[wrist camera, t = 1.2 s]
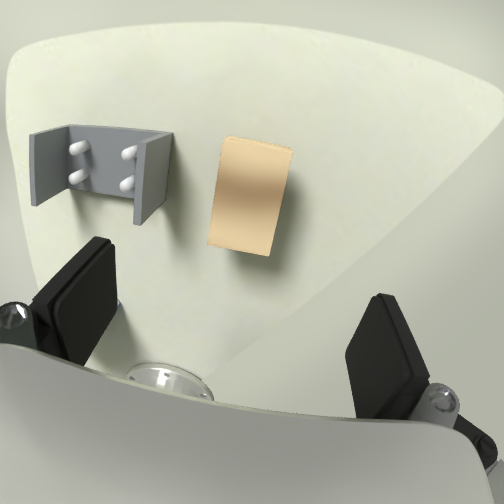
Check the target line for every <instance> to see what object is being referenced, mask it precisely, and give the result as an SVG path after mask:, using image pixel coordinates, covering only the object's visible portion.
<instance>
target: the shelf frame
mask: <svg viewBox="0 0 504 504" xmlns="http://www.w3.org/2000/svg"><path fill="white" fill-rule="evenodd" d="M172 137H173V133H171V132H162V131H153V130H143V129H133V128H121V127H107V126H91V125H65V126H61V127H57V128H53V129H49V130H45V131H41V132H38V133H34V134H30V135H29V170H30V193H31V206H38V205H39V204H41V203H43V202H44V201H46V200H48V199H50V198H51V197H53V196H55V195H56V194H58V193H60V192H62V191H63V190H65V189H67V188H68V189H75V190H82V191H88V192H95V193H101V194H108V195H114V196H120V197H127V198H133V199H134V216H133V224H134V225H139V226H141V225H142V224H143V223H144V222H145V221H146V220H147V219H148V218H149V217H150V215H151V214H152V213H153V212H154V211H155V210H156V209H157V208H158V207H159V206H160V205H161V204H162V203H163V202H164V201H165V200H166V191H167V180H168V171H169V161H170V153H171V145H172Z"/></svg>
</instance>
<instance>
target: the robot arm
mask: <svg viewBox="0 0 504 504" xmlns="http://www.w3.org/2000/svg"><path fill="white" fill-rule="evenodd" d="M32 300H33V302H32V303H31V304H30V305H29V306H28V305H26V304H24V303H22V302H9V303H6V304H4V305H2V306H0V504H504V462H503V461H502V460H501V459H500V460H499V461H497V460H496V459H497V455H498V451H497V447H496V444H495V442H494V441H493V439H492V438H491V437H489V436H488V435H487V434H486V433H484V432H483V431H481V430H480V429H478V428H477V427H476V426H474V425H473V424H472V423H470V422H469V421H467V420H466V419H465V418H463V417H462V416H461V415H459V414H458V412H459V408H460V403H459V399H458V397H457V395H456V394H455V392H454V391H453V390H452V389H450V388H449V387H448V386H446V385H444V384H440V383H432V384H430V383H429V381H428V378H429V377H430V375H429V372H428V370H427V368H426V365H425V363H424V360H423V358H422V356H421V353H420V351H419V349H418V347H417V344H416V342H415V340H414V337H413V335H412V333H411V331H410V329H409V326H408V324H407V322H406V320H405V318H404V316H403V314H402V311H401V309H400V307H399V305H398V303H397V301H396V299H395V297H394V296H392V295H387V294H381V293H379V294H377V295H376V296H373V297H372V298H371V300H370V302H369V304H368V307H367V309H366V311H365V313H364V315H363V317H362V319H361V321H360V323H359V325H358V327H357V329H356V331H355V334H354V335H353V337H352V339H351V341H350V343H349V345H348V347H347V349H346V353H345V359H346V364H347V369H348V374H349V379H350V385H351V390H352V395H353V400H354V406H355V412H356V418H342V417H327V416H315V415H304V414H295V413H286V412H278V411H270V410H263V409H256V408H250V407H244V406H238V405H232V404H226V403H221V402H216V401H214V397H213V394H212V392H211V391H210V389H209V388H208V387H207V386H206V385H205V384H204V383H203V382H202V381H201V380H200V379H198V378H197V377H195V376H194V375H192V374H190V373H188V372H186V371H184V370H182V369H179V368H176V367H173V366H169V365H165V364H158V363H148V364H141V365H138V366H135V367H134V368H132V369H131V370H130V371H129V372H128V373H127V375H126V378H125V379H122V378H119V377H115V376H112V375H109V374H106V373H103V372H100V371H96V370H93V369H90V368H87V367H84V365H85V363H86V362H87V360H88V358H89V357H90V355H91V353H92V351H93V350H94V348H95V346H96V345H97V343H98V341H99V340H100V338H101V336H102V334H103V333H104V331H105V330H106V328H107V326H108V325H109V323H110V321H111V320H112V318H113V316H114V315H115V313H116V311H117V307H118V300H117V285H116V263H115V246H114V244H111V241H110V239H106V238H101V237H97V236H95V237H93V238H92V239H91V240H90V241H89V242H88V243H87V244H86V245H85V246H84V247H83V248H82V249H81V250H80V251H79V252H78V253H77V254H76V255H75V256H74V257H73V258H72V259H71V260H70V261H69V262H68V263H67V264H66V265H65V266H64V267H63V268H62V269H61V270H60V271H59V272H58V273H57V274H56V275H55V276H54V277H53V278H52V279H51V280H50V281H49V282H48V283H47V284H46V285H45V286H44V287H43V288H42V289H41V290H40V292H39V293H38V294H37V295H36V296H35V297H34V298H33V299H32Z"/></svg>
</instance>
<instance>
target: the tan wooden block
mask: <svg viewBox="0 0 504 504" xmlns="http://www.w3.org/2000/svg"><path fill="white" fill-rule="evenodd" d="M292 154H293V153H292V150H291V148H290V147H285V146H280V145H275V144H270V143H265V142H260V141H255V140H249V139H244V138H238V137H232V136H227V137H226V138H225V139H224V140H223V144H222V150H221V156H220V163H219V169H218V175H217V182H216V188H215V195H214V201H213V208H212V215H211V222H210V230H209V237H208V244H207V245H211V246H216V247H222V248H227V249H232V250H237V251H242V252H248V253H253V254H258V255H263V256H269V254H270V250H271V246H272V242H273V237H274V233H275V229H276V224H277V220H278V216H279V211H280V207H281V203H282V198H283V194H284V189H285V185H286V181H287V176H288V172H289V167H290V163H291V158H292Z"/></svg>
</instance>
